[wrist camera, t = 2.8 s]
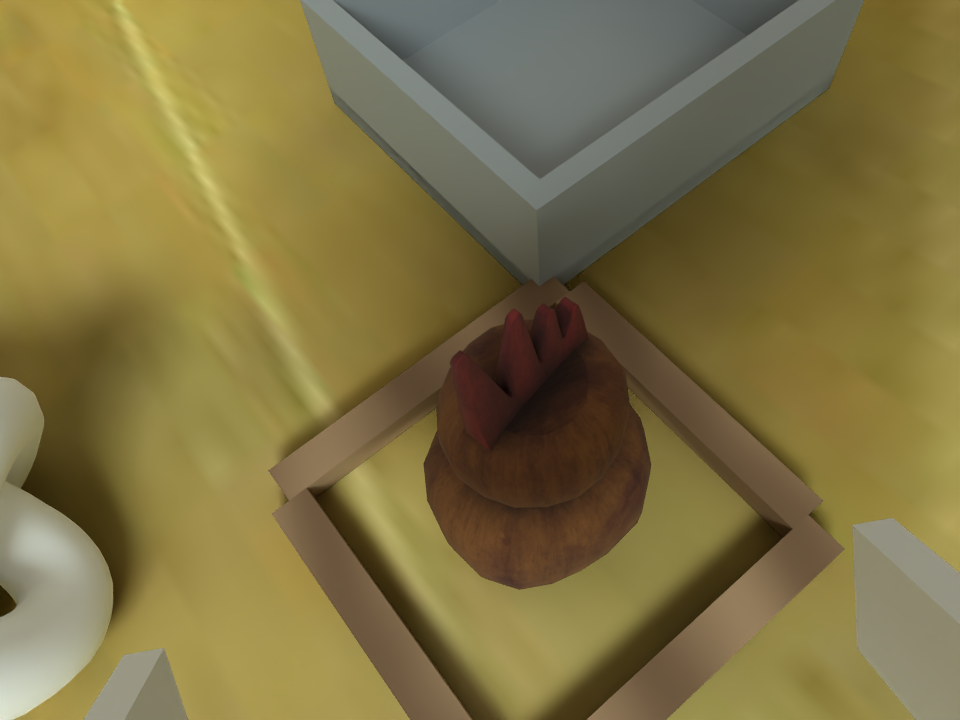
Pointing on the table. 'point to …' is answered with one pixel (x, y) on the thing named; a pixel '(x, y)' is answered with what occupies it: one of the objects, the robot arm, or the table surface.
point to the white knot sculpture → (42, 573)
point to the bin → (571, 104)
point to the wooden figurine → (536, 450)
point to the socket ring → (674, 399)
